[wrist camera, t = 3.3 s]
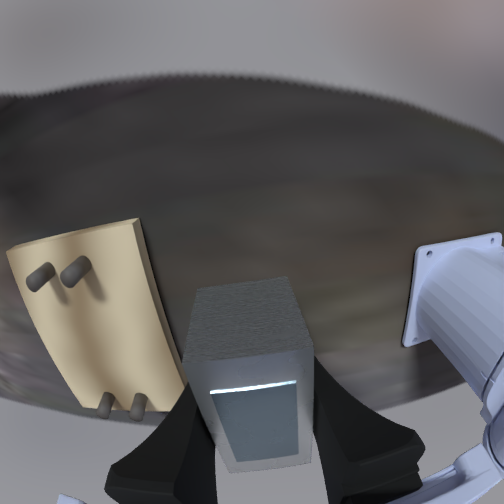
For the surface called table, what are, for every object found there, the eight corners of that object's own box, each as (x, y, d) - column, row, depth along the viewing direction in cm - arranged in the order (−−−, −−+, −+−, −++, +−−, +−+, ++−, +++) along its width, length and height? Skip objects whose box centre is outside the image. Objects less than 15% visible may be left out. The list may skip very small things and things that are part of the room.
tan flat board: (139, 217, 15) (118, 235, 12) (195, 398, 20) (192, 431, 17) (16, 245, 15) (-13, 263, 12) (87, 397, 20) (75, 423, 17)
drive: (286, 276, 13) (314, 348, 8) (294, 394, 16) (311, 463, 11) (197, 288, 13) (181, 364, 8) (228, 403, 16) (229, 474, 11)
